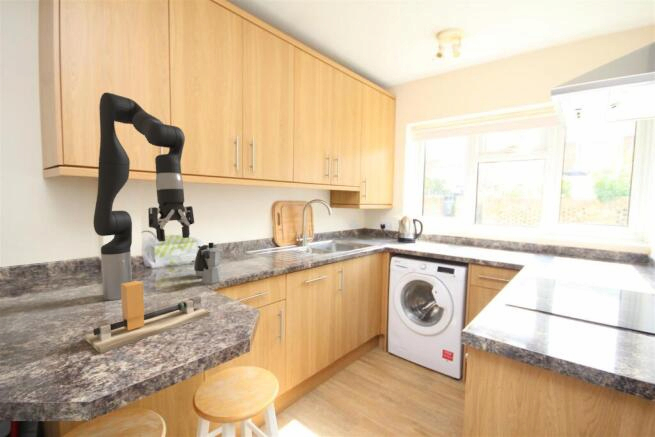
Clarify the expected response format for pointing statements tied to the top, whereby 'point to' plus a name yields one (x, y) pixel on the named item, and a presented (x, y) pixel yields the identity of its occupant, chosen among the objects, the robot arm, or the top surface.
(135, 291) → the upright wooden block
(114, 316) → the top surface
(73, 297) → the top surface
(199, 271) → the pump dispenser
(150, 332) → the linear slide rail
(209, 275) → the coffee maker
